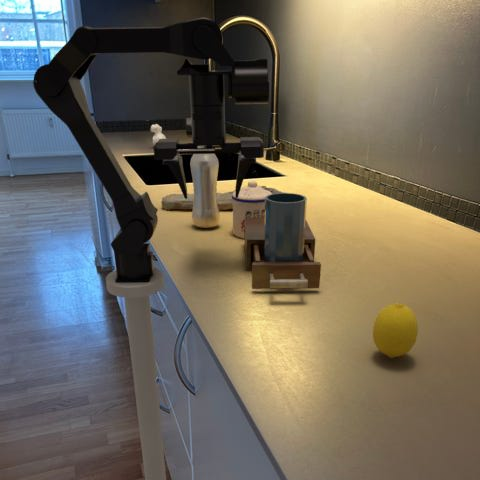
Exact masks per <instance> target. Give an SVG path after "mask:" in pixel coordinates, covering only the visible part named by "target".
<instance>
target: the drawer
mask: <svg viewBox="0 0 480 480" xmlns="http://www.w3.org/2000/svg"><path fill="white" fill-rule="evenodd" d="M321 270H322V263H321V261H315V257H314V258H313V256H312V254H311V251H310V249H309V246H308V244H307V243H304V256H303V262H264V244H253V262H252V271H251V289H252V290H254V289H255V290H261V289H263V290H265V289H267V290H268V289H270V290H271V289H320V285H321V284H320V283H321Z"/></svg>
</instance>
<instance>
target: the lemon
mask: <svg viewBox="0 0 480 480" xmlns="http://www.w3.org/2000/svg"><path fill="white" fill-rule="evenodd" d="M418 332H419V326H418V319H417V316H416V314H415V313H414V311H413V310H412V309H410V307H408V306H406V305H404V304H403V303H401V302H397V303H393V304H389V305H386V306H385V307H383V308H382V309H381V310H380V311H379V313H377V316H376V317H375V320H374V324H373V327H372V339H373V343H374V345H375V347H376V348H377V350H378V351H379V352H380V353H382V354H383V355H385V356H387V357H388V358H389V359H394V358H395V357H396V358H397V357H401V356H404V355H406V354H407V353H409V352H410V351H411V350H412V349H413V347H414V346H415V344H416V341H417V338H418Z"/></svg>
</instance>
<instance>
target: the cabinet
mask: <svg viewBox="0 0 480 480" xmlns="http://www.w3.org/2000/svg"><path fill="white" fill-rule="evenodd" d="M264 222H265V217H253V218H245V227H244V238H243V240H244V257H245V258H244V259H245V267H246V271H247V272H248V271H249V272H250V271H251V272H252V262H253V244H264ZM304 243H307V244H308V246H309V249H310V251H311V254H312V256H313V258H314V259H315V251H316V237H315V235H314V233H313V231H312V229H311V227H310V225H309V222H308V221H307V220H306V222H305V239H304Z"/></svg>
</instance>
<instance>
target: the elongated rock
mask: <svg viewBox="0 0 480 480" xmlns="http://www.w3.org/2000/svg"><path fill="white" fill-rule="evenodd" d="M257 186H260V187H262V188H263V189H264V190H268V191H270V192H271V193H272V194H276V193H285V192H284V191H283V192H282V191H280V190H278V189H277V188H274V187H267V186H266V185H258V184H257ZM233 192H235V189H234V190H233V191H227V192H224V193H223V192H217V203H218V208H219V211H226V210H233V199H232V194H233ZM193 200H194V193H187V199H185V198H184V196H183V193H171V194H167V195H165V196H164V197H163V196H162V198H161V201H160V204H161V208H163V209H164V210H166V211H167V210H168V211H170V210H176V209H177V210H178V209H179V210H193Z"/></svg>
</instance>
